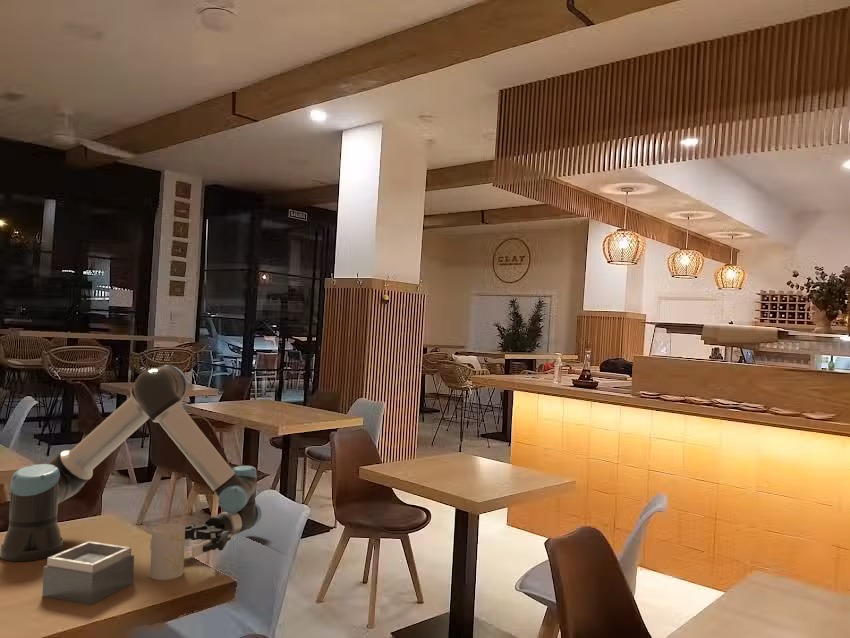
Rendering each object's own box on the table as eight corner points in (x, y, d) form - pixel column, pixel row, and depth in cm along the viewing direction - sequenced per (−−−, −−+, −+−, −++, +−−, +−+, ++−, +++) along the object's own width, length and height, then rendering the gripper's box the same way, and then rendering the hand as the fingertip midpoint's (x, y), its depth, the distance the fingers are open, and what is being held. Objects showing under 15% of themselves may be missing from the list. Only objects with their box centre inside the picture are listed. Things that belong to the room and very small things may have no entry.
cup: (171, 581, 168) (173, 534, 168) (143, 577, 169) (145, 531, 169) (189, 570, 176) (191, 525, 176) (162, 566, 177) (164, 522, 177)
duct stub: (42, 596, 156) (44, 558, 156) (87, 575, 170) (88, 540, 170) (91, 604, 152) (92, 566, 152) (132, 582, 166) (134, 547, 166)
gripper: (258, 545, 189) (210, 570, 169) (187, 533, 197) (134, 555, 177) (259, 519, 189) (211, 541, 169) (188, 508, 197) (135, 527, 177)
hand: (171, 548), depth 173 cm, fingers open, 13 cm apart
